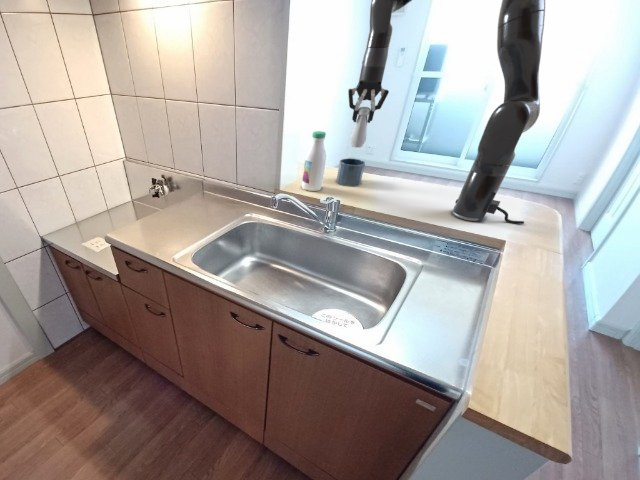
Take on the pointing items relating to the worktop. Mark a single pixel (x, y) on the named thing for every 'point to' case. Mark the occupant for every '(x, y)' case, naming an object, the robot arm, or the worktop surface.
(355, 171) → the cup
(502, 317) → the worktop surface
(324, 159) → the milk bottle
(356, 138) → the salt shaker
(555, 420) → the worktop surface
